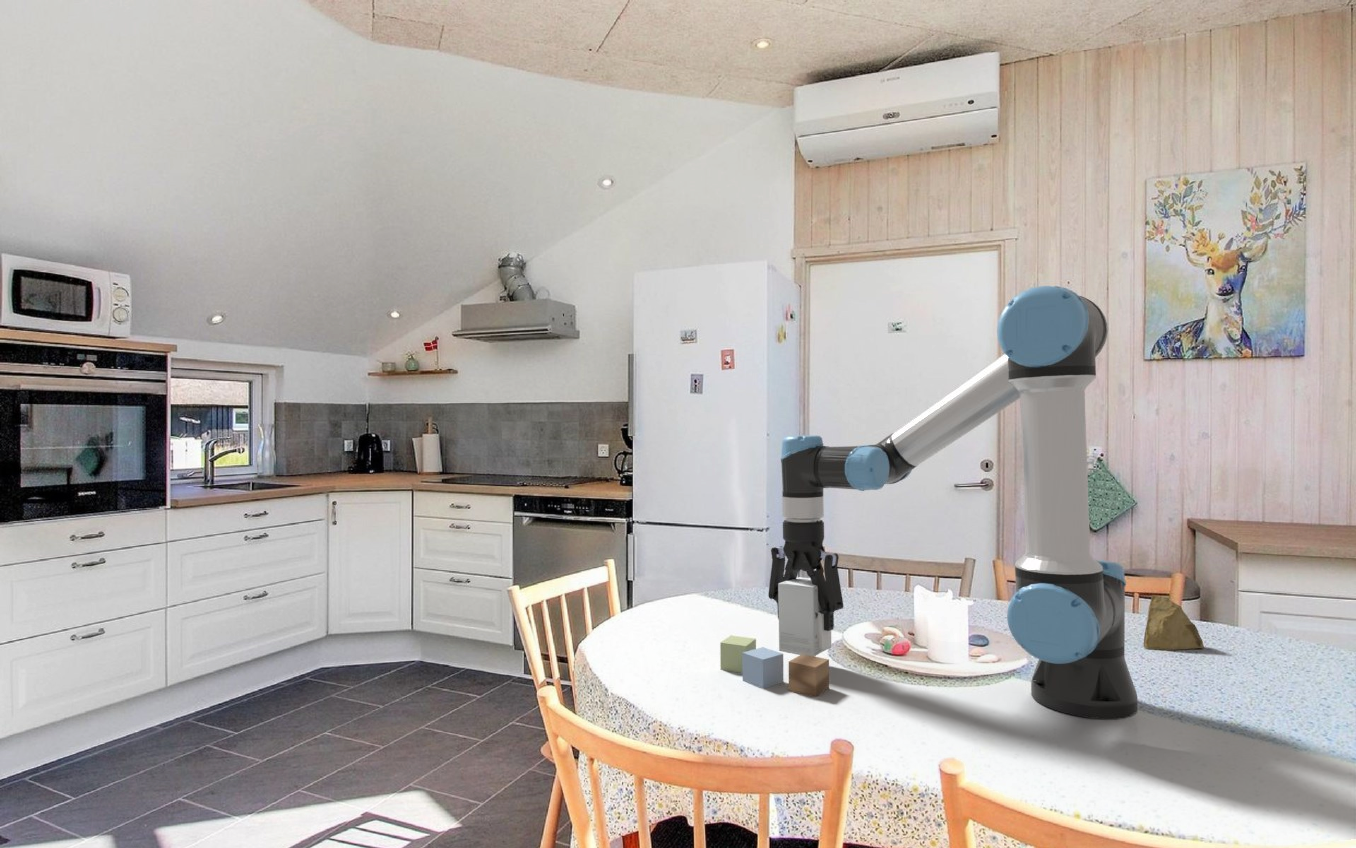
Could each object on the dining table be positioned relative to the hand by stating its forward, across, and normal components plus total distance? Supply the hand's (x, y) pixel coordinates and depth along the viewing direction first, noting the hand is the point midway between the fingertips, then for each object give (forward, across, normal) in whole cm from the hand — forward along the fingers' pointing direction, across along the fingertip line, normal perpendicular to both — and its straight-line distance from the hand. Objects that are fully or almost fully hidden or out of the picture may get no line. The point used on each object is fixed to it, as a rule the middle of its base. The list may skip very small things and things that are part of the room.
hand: (805, 643), depth 142 cm
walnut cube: (+5, -8, +9) cm, 13 cm away
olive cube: (+4, +8, +9) cm, 13 cm away
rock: (+6, -44, -61) cm, 75 cm away
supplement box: (+2, 0, 0) cm, 2 cm away
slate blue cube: (+4, 0, +12) cm, 12 cm away
